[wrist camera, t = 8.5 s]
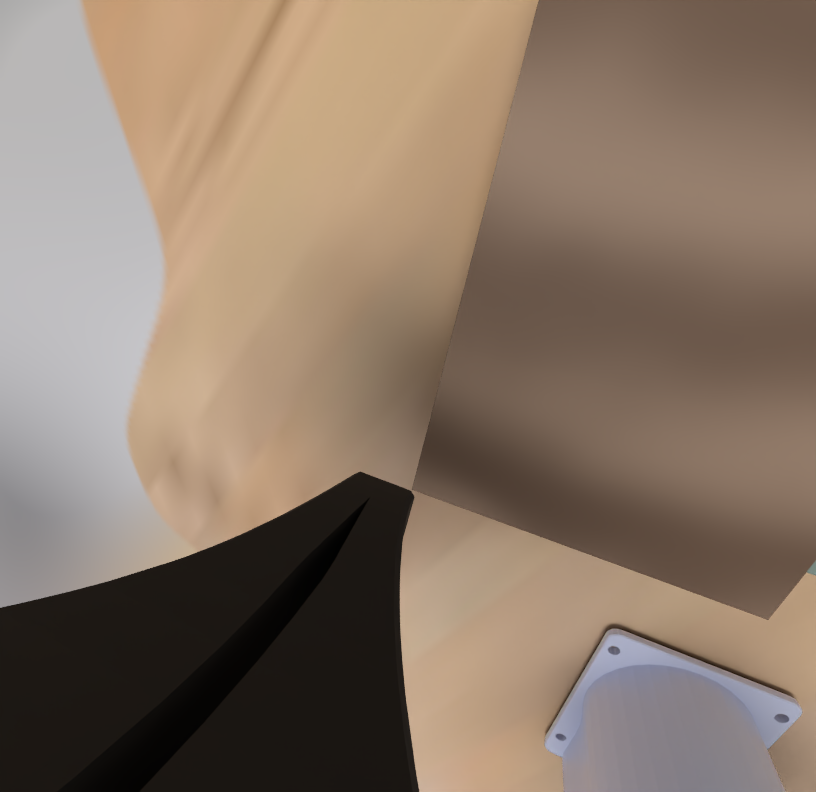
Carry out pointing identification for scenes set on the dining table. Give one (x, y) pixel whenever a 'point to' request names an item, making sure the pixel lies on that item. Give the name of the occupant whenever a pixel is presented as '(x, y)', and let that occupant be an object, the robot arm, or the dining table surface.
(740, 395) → the plate
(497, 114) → the dining table surface
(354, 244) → the dining table surface
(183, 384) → the dining table surface
